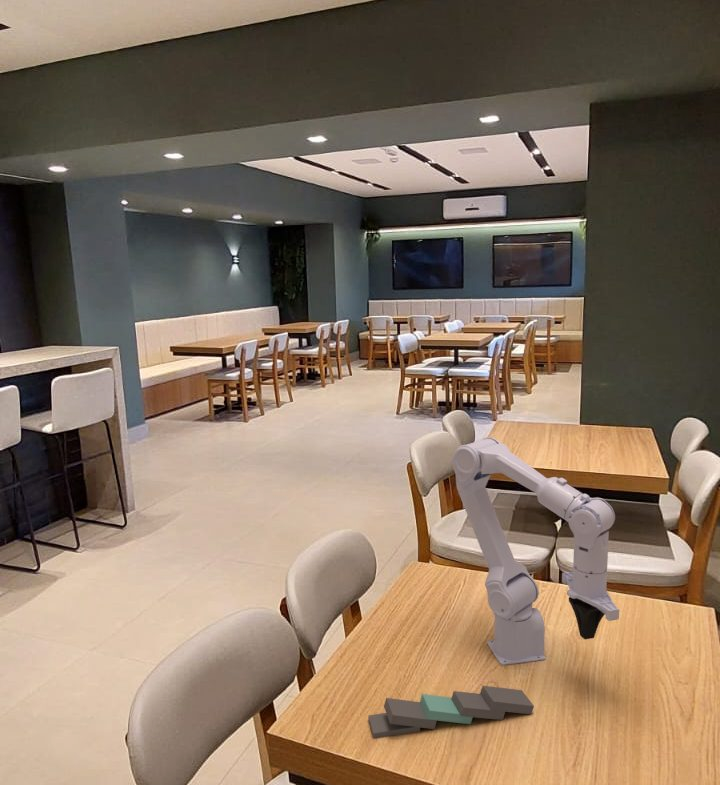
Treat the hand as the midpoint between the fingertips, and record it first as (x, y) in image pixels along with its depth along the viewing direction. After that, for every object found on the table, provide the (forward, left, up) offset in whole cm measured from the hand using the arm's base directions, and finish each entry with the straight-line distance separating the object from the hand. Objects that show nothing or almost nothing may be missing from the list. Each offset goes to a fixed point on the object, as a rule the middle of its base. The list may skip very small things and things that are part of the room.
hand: (587, 636), depth 112 cm
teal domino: (+24, +3, -9) cm, 26 cm away
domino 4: (+13, +3, -9) cm, 16 cm away
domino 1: (+33, +3, -10) cm, 35 cm away
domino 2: (+30, +4, -9) cm, 32 cm away
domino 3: (+18, +3, -9) cm, 21 cm away
